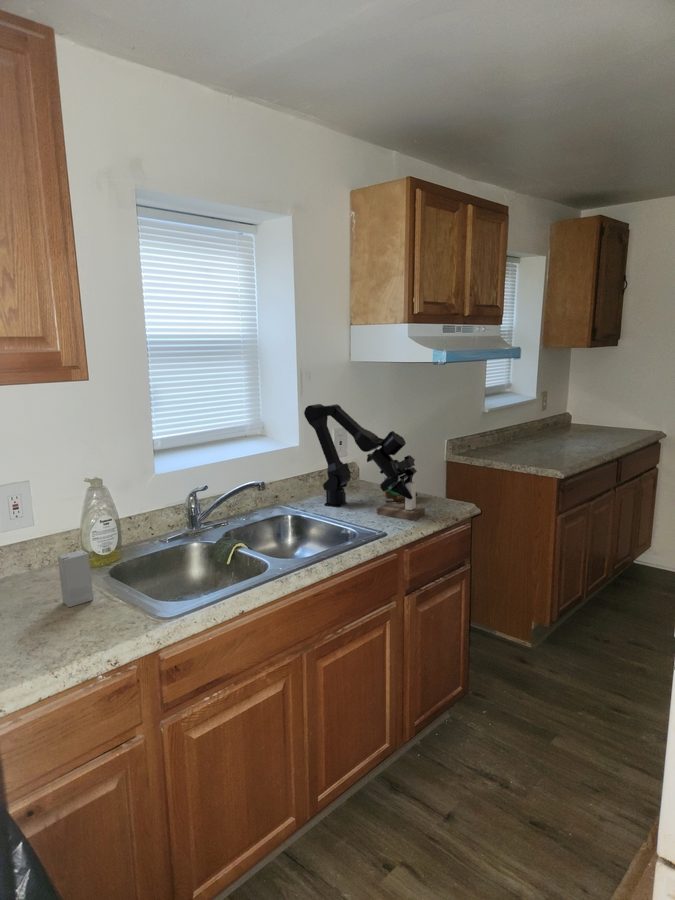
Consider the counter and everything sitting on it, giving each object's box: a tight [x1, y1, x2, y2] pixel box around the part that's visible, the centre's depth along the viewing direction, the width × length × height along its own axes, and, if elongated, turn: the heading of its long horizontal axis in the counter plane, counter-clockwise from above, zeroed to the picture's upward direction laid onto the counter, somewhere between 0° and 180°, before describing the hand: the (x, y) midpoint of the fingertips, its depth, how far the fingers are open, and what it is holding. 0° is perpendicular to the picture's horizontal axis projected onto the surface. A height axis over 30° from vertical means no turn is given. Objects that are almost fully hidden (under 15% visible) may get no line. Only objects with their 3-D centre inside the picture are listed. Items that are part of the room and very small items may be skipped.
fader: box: [404, 481, 417, 510], centre depth 208 cm, size 2×4×9 cm
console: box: [376, 502, 426, 522], centre depth 211 cm, size 15×8×3 cm, turn 58°
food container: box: [383, 476, 405, 503], centre depth 229 cm, size 12×6×10 cm, turn 143°
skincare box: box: [57, 549, 94, 608], centre depth 142 cm, size 6×4×12 cm
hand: (414, 497), depth 207 cm, fingers closed on fader, 3 cm apart
